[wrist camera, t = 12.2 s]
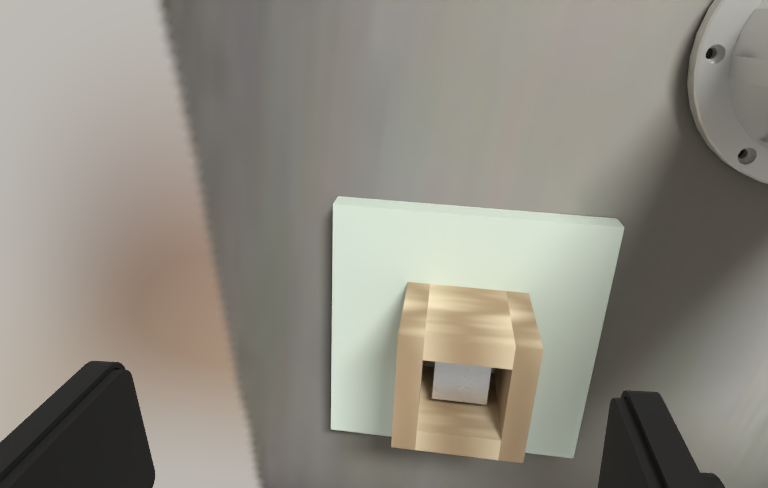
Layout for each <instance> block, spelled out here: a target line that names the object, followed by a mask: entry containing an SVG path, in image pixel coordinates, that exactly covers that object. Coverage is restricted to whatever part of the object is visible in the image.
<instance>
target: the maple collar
mask: <svg viewBox="0 0 768 488" xmlns="http://www.w3.org/2000/svg"><path fill="white" fill-rule="evenodd" d="M542 355H543V346H542V342H541V339H540V335H539V331H538V327H537V323H536V319H535V315H534V311H533V308H532V304H531V300H530V296H529V293H522V292H512V291H501V290H490V289H479V288H469V287H458V286H447V285H437V284H426V283H415V282H408V285H407V290H406V295H405V301H404V306H403V311H402V317H401V322H400V327H399V333H398V344H397V360H396V376H395V392H394V408H393V424H392V440H391V447H394V448H402V449H410V450H419V451H427V452H435V453H443V454H451V455H459V456H468V457H476V458H484V459H492V460H500V461H509V462H517V463H523V461H524V456H525V450H526V445H527V439H528V433H529V428H530V422H531V417H532V411H533V406H534V400H535V394H536V389H537V383H538V378H539V372H540V366H541V361H542ZM424 360H425V361H435V362H444V363H454V364H463V365H472V366H482V367H491V368H495V371H494V373H491V376H490V383H489V390H488V397H487V404H486V405H485V404H476V403H468V402H459V401H450V400H441V399H432V389H433V374H434V367H432V366H423V362H424Z"/></svg>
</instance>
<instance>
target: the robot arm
mask: <svg viewBox="0 0 768 488" xmlns="http://www.w3.org/2000/svg"><path fill="white" fill-rule="evenodd" d="M709 48H712V50H713V54H712V56H711V57H710V58H706V52H707V50H708V49H709ZM687 86H688V96H689V105H690V109H691V112H692V115H693V118H694V121H695V124H696V127H697V129H698V131H699V132H700V134H701V136H702V137H703V139H704V141H705V142H706V144H707V145H708V147H709V148H710V149H711V150H712V151H713V152H714V153H715V154H716V155H717V156H718V157H719V158H720V159H721V160H722V161H723V162H725V163H726V164H728V165H729V166H731V167H733V168H734V169H736V170H737V171H739V172H740V173H742V174H744V175H747V176H749V177H751V178H753V179H755V180H757V181H759V182H763V183H767V184H768V0H714V1H713V3H712V4H711V6H710V7H709V9H708V11H707V13H706V15H705V17H704V19H703V21H702V24H701V26H700V28H699V30H698V32H697V34H696V38H695V41H694V45H693V48H692V52H691V55H690V59H689V70H688V80H687ZM743 149H744V152H743V154H742V155H741V156H739V157H738V154H739V153H740V151H741V150H743ZM154 480H155V470H154V466H153V461H152V458H151V453H150V449H149V445H148V441H147V436H146V432H145V428H144V424H143V420H142V416H141V411H140V407H139V403H138V399H137V395H136V391H135V386H134V382H133V378H132V375H131V373H130V372H129V371H128V370H125V367H124V366H123V365H122V364H121V363H119V362H104V361H91V362H89V363H87V364H85V365H84V366H83V367H82V368H81V369H80V370H79V371H78V372H77V373H76V374H75V375H73V376H72V377H71V378H70V379H69V380H68V381H67V382H66V383H65V384H64V385H63V386H61V387H60V388H59V389H58V390H57V391H56V392H55V393H54V394H53V395H52V396H51V397H49V398H48V399H47V400H46V401H45V402H44V403H43V404H42V405H41V406H40V407H39V408H38V409H36V410H35V411H34V412H33V413H32V414H31V415H30V416H29V417H28V418H26V419H25V420H24V421H23V422H22V423H21V424H20V425H19V426H18V427H17V428H16V429H15V430H14V431H12V432H11V433H10V434H9V435H8V436H7V437H6V438H5V439H4V440H2V441H1V442H0V488H152V487H153V484H154ZM598 488H725V487H724V485H723V483H722V482H721V481H720V479H719V478H718V477H717V476H716V475H714V474H712V473H700V472H699V470H698V468H697V466H696V464H695V462H694V460H693V458H692V456H691V454H690V452H689V450H688V448H687V446H686V444H685V442H684V440H683V438H682V436H681V434H680V432H679V430H678V428H677V426H676V424H675V422H674V420H673V418H672V416H671V414H670V413H669V411H668V409H667V407H666V405H665V403H664V401H663V399H662V397H661V395H660V394H659V393H657V392H644V391H626V390H625V391H623V393H622V395H621V398H612V400H611V402H610V408H609V415H608V422H607V429H606V435H605V442H604V449H603V456H602V463H601V470H600V476H599V483H598Z"/></svg>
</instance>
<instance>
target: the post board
mask: <svg viewBox="0 0 768 488" xmlns="http://www.w3.org/2000/svg"><path fill="white" fill-rule="evenodd" d="M623 232H624V226H623V225H622V224H621V223H620V221H619V220H618V219H617V218H605V217H592V216H580V215H567V214H555V213H542V212H529V211H517V210H504V209H492V208H479V207H467V206H454V205H441V204H429V203H416V202H404V201H391V200H378V199H366V198H353V197H341V196H338V197H337V199H336V200H335V202H334V203H333V257H332V360H331V429H332V430H340V431H349V432H357V433H365V434H374V435H382V436H390V437H392V424H393V408H394V392H395V376H396V360H397V344H398V333H399V327H400V322H401V317H402V311H403V306H404V301H405V295H406V290H407V285H408V282H415V283H426V284H437V285H447V286H458V287H469V288H479V289H490V290H501V291H512V292H522V293H529V296H530V300H531V304H532V308H533V311H534V315H535V319H536V323H537V327H538V331H539V335H540V339H541V342H542V346H543V355H542V361H541V366H540V372H539V378H538V383H537V389H536V394H535V400H534V406H533V411H532V417H531V422H530V428H529V433H528V439H527V445H526V450H525V453H532V454H540V455H549V456H557V457H565V458H574V453H575V449H576V444H577V440H578V435H579V431H580V426H581V422H582V417H583V413H584V408H585V404H586V399H587V395H588V390H589V386H590V381H591V377H592V372H593V368H594V363H595V359H596V354H597V349H598V345H599V340H600V336H601V331H602V327H603V322H604V318H605V313H606V309H607V304H608V300H609V295H610V291H611V286H612V282H613V277H614V273H615V268H616V264H617V259H618V255H619V250H620V246H621V241H622V237H623ZM423 366H432V367H434V374H433V389H432V399H441V400H450V401H459V402H468V403H476V404H485V405H486V404H487V397H488V390H489V383H490V376H491V373H494V371H495V368H491V367H482V366H472V365H463V364H454V363H444V362H435V361H425V360H424V362H423Z"/></svg>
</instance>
